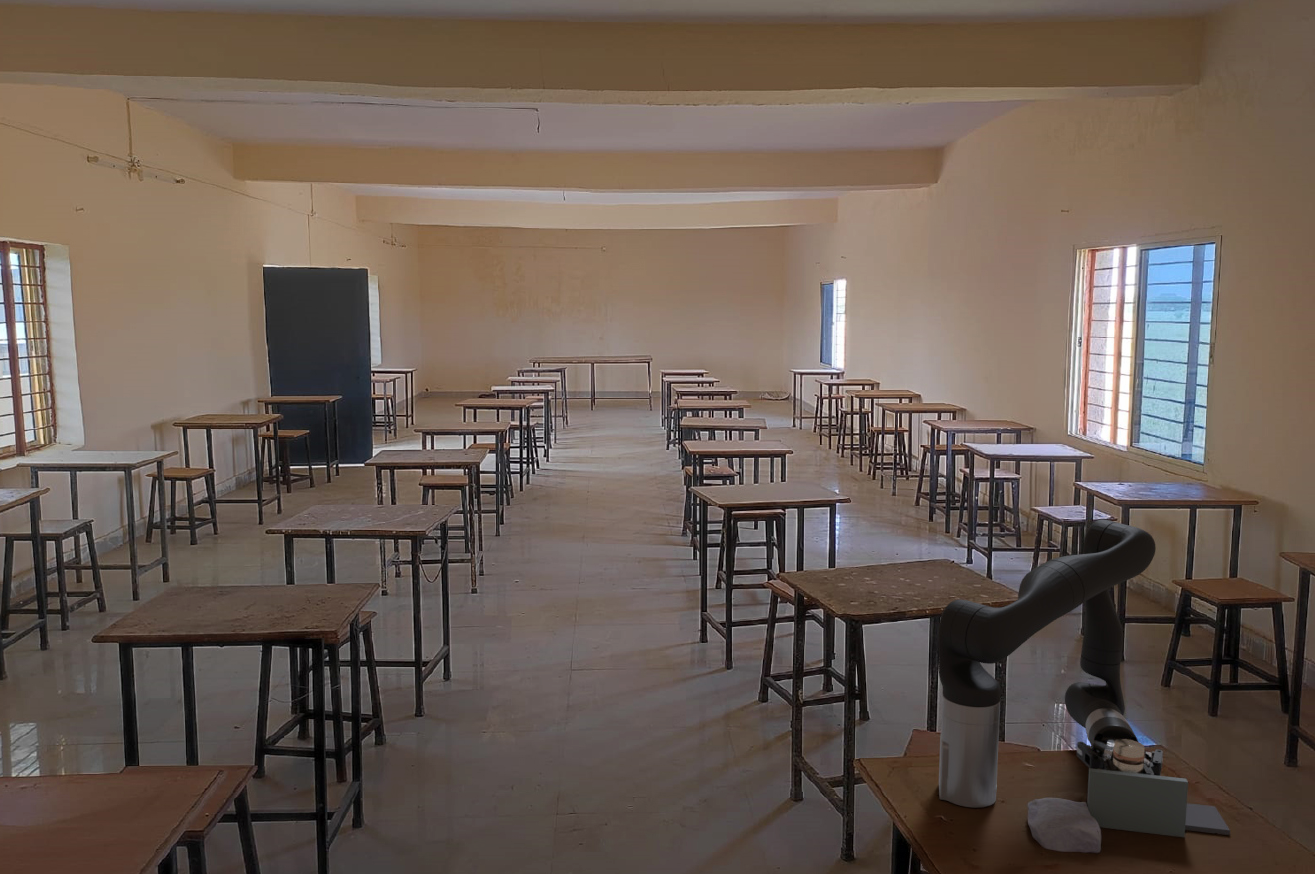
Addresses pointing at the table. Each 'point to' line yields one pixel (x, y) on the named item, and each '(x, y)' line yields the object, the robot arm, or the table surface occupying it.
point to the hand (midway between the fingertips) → (1131, 777)
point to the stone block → (1064, 825)
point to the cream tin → (1128, 756)
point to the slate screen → (1138, 802)
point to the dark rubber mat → (1205, 819)
